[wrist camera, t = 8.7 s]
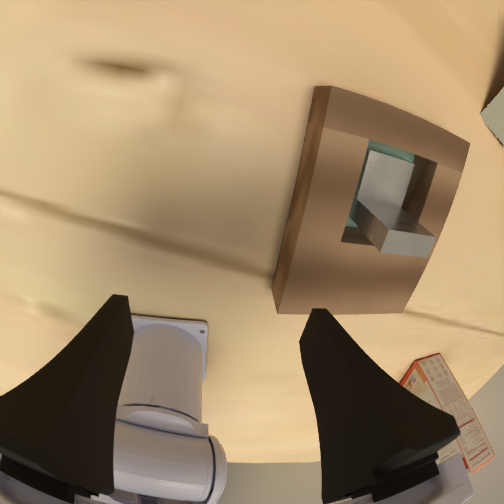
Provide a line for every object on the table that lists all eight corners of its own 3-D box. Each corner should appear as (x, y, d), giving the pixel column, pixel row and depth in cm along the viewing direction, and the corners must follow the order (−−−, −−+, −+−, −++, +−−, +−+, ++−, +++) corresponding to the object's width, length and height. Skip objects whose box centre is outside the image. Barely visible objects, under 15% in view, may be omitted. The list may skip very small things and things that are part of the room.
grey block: (385, 217, 21) (426, 257, 16) (342, 210, 20) (380, 252, 15) (403, 158, 18) (454, 185, 13) (360, 145, 17) (408, 170, 12)
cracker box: (407, 397, 42) (443, 486, 24) (381, 405, 41) (415, 501, 23) (442, 350, 34) (497, 456, 16) (414, 359, 34) (469, 476, 16)
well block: (388, 292, 25) (401, 312, 23) (271, 288, 23) (277, 313, 21) (446, 134, 17) (470, 143, 15) (314, 86, 15) (331, 85, 13)
